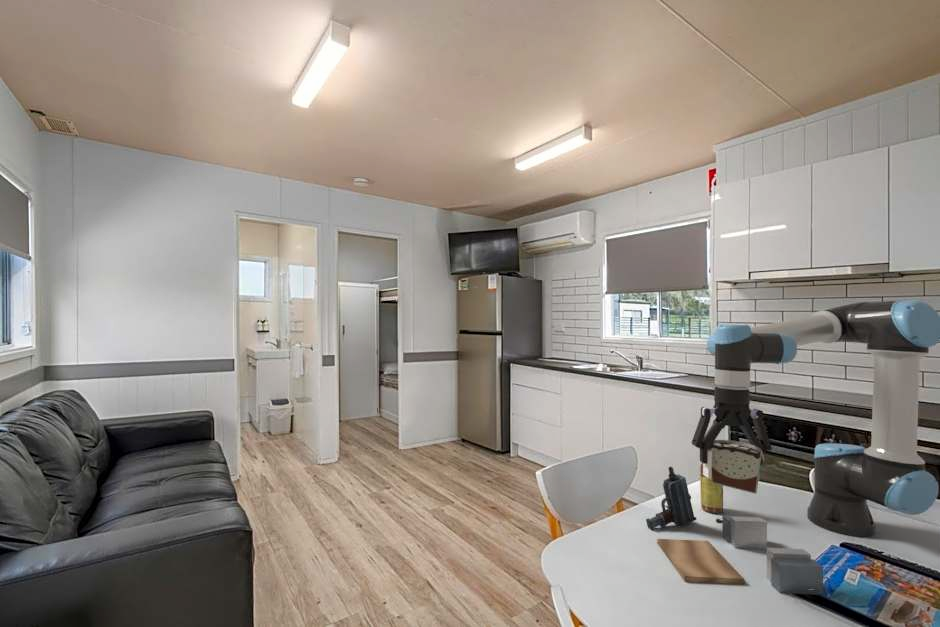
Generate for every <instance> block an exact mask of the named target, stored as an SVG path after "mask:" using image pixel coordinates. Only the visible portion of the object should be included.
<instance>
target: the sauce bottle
mask: <svg viewBox="0 0 940 627" xmlns="http://www.w3.org/2000/svg"><path fill="white" fill-rule="evenodd" d="M708 450H709V449H708ZM699 469H700V471H699V472H700V473H699V474H700V475H699V480H700V481H699V484H700V485H699V488H700V504H701V505H700V508H701V509H702V510H703V511H705V512H706V513H711V514H721V513H723V511H724V486H723V485H719V484H715V483H712V480H711V479H710V478H707V477H706V476H704V475H703V463H702V462H701V464H700V467H699Z"/></svg>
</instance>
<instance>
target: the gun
mask: <svg viewBox="0 0 940 627" xmlns="http://www.w3.org/2000/svg"><path fill="white" fill-rule="evenodd" d="M668 473H669V474H668V478H667V479H664V480H663V483H662V488H663V491H664V496H665V497H664V498H663V499H662V500H661V503H660V506H661V510H662V511H661V512H659V513H655V516H653V517H651V518H649V517H647V518H646V519H645V521H646V525H647V528H648V529H649V530H651V531H652V530H654V529H655V528H657V527H659V526H660V527H662V528H665V527H667V525H669V524H671V523H673V524H675V525H676V526H678V527H680V528H682V527H685V526H686V525H688V524H690V523H692V522H694V521H697V517H696V516H695V514H694V510H693V505H692V502H691V499H692V496H691V494H690V493H689V488H688V483H687V479H686V477H685V476H683V475H682V474H680V473H677V474H676V473H675V471H674V467H673V466H669V467H668ZM665 504H666V505H665Z"/></svg>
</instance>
